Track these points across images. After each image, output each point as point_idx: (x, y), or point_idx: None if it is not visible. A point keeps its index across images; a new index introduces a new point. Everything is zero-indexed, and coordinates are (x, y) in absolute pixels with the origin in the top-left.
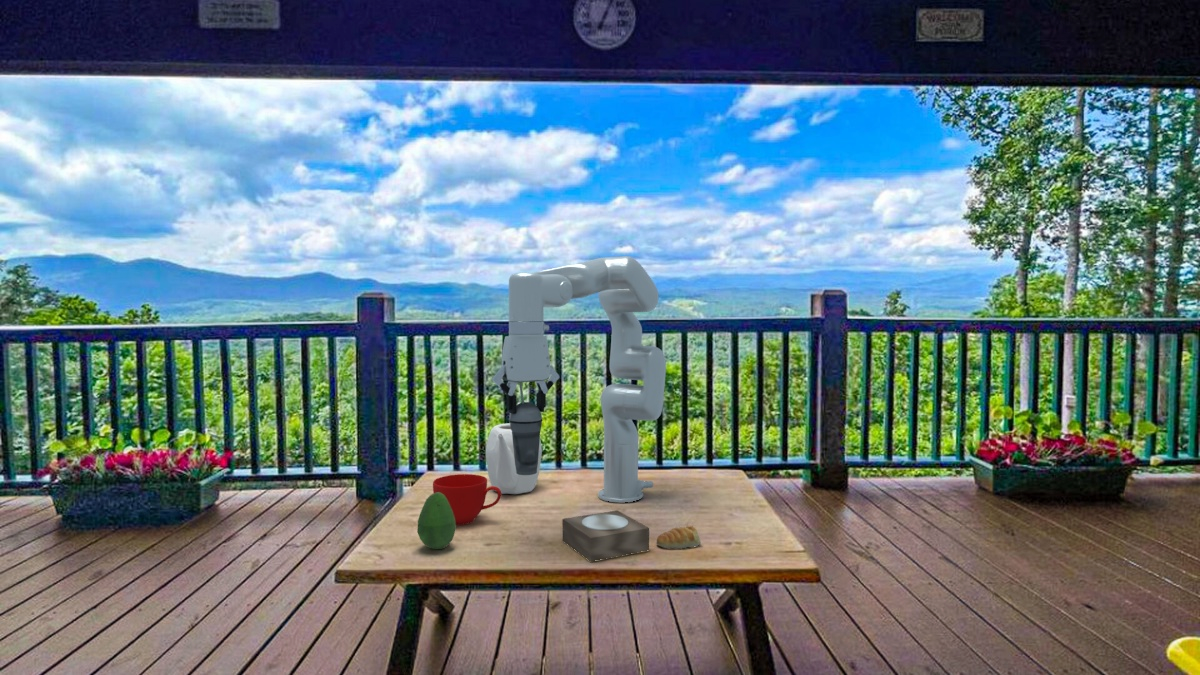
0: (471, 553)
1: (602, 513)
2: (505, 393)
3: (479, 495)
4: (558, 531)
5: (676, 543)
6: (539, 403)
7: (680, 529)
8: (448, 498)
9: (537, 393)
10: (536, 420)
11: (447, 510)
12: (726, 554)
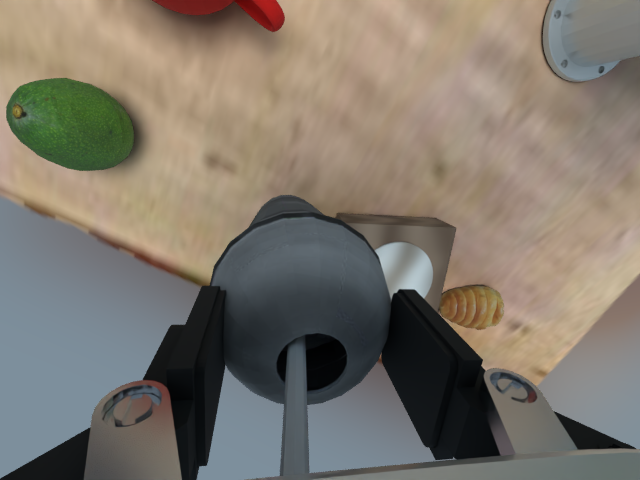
0: (169, 190)
1: (423, 231)
2: (113, 402)
3: (220, 2)
4: (356, 163)
5: (454, 322)
6: (402, 370)
7: (481, 316)
8: None
9: (450, 380)
10: (324, 368)
11: (84, 157)
12: (483, 353)
